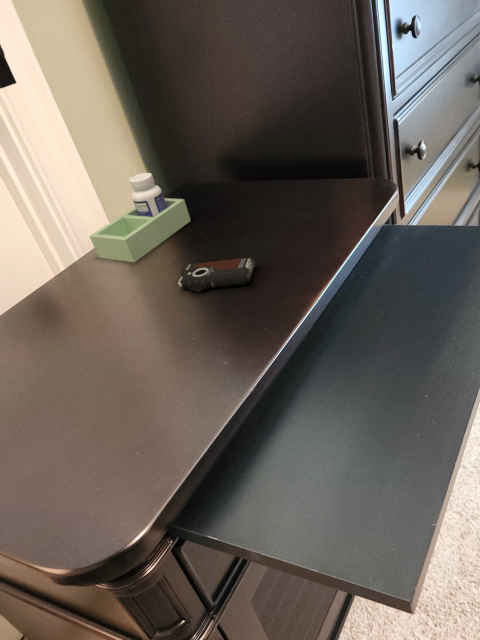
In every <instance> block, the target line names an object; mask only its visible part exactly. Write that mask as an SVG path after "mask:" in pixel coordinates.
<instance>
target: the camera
mask: <svg viewBox="0 0 480 640" xmlns="http://www.w3.org/2000/svg"><path fill="white" fill-rule="evenodd" d="M255 268H256V259H255V258H254V256H252V257H241V258H234V259H233V258H232V259H225V260H215V261H207V262H197V263H189V264H184V265H183V267H182V268H181V270H180V272H179V274H180V278H179V280H178V282H177V285H178V286H179V287H181V288H183V289H187V290H188V291H190V292H195V293H201V292H202V291H203V290H207V289H214V288H225V287H226V288H227V287H236V286H244V285H247V283H250V281H251V279H252V276H253V273H254V271H255Z"/></svg>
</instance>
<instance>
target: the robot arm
mask: <svg viewBox="0 0 480 640" xmlns="http://www.w3.org/2000/svg"><path fill="white" fill-rule="evenodd" d="M16 84H17V81H16V78H15V76H14V74H13V72H12V70H11V68H10V65H9V63H8V61H7V58H6V55H5V51H4V49H3V47H2V45H1V44H0V89H4V88H7V87H9V86H10V87H11V86H12V85H16Z"/></svg>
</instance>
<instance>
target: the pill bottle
mask: <svg viewBox="0 0 480 640" xmlns="http://www.w3.org/2000/svg"><path fill="white" fill-rule="evenodd" d="M153 176H154V175H153V174H152V173H151V172H140V173H138V174H136V175H133V176H131V177H130V178H129V184H130V187H131V189H132V190H133V191H132V194H131V198H132V202H133V204H134V207H136V210H137V212H138V215H139V216H147V217H155V216H156V215H158V214H159V213H160V212H162V211H163V210H165V209H166V208H167V205H166V202H165V199H164V198H165V196H164V194H163V190H162V189H161V187H160V186H159V185H157V184H155V179H154V177H153Z"/></svg>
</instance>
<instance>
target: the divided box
mask: <svg viewBox="0 0 480 640" xmlns="http://www.w3.org/2000/svg"><path fill="white" fill-rule="evenodd" d="M164 199H165V202H166V205H167V208H166V209H165V210H163V211H162V212H160V213H159V214H158V215H156V216H155V217H147V216H139V215H138V212H137V210H136V207H135V206H133V207H132V208H130V209H128V210H127V211H126V212H124V213H123V214H121V215H119V216H118V217H116V218H115V219H113V220H112V221H110V222H109V223H107V224H106V225H104V226H102V227H101V228H99V229H98V230H96V231H95V232H93V233H92V234H89V240H90V241H91V244H92V245H93V248H94V250H95V252H96V255H97V257H98V259H103V260H111V261H119V262H126V263H136V262H138V260H139V261H140V259H142V258H143V257H144V256H145V255H147V254H148V253H150V252H151V251H152V250H154V249H155V248H157V247H158V246H159V245H161V244H162V243H163V242H165V241H166V240H167V239H169V238H170V237H171V236H172V235H174V234H175V233H177V232H178V231H179V230H180V229H182V228H183V227H184V226H186V225H187V224H189V223H190V222H191V221H192V220H191V217H190V213H189V210H188V206H187V204H186V200H185V198H184V199H183V198H171V197H170V198H169V197H164Z"/></svg>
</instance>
